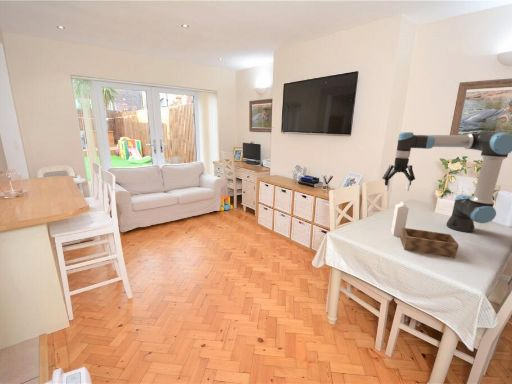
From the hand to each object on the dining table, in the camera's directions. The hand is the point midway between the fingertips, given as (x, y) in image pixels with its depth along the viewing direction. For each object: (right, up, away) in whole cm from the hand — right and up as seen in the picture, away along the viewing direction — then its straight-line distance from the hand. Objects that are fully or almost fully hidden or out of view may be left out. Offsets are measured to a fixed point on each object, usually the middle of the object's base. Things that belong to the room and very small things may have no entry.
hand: (396, 190), depth 164 cm
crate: (+6, -33, -19) cm, 39 cm away
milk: (0, -29, -1) cm, 29 cm away
